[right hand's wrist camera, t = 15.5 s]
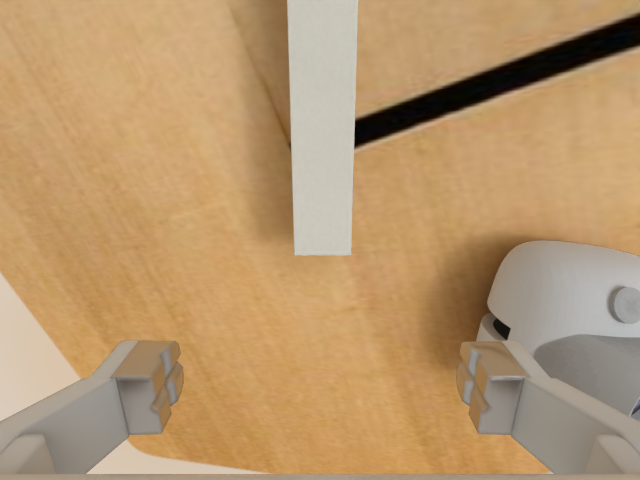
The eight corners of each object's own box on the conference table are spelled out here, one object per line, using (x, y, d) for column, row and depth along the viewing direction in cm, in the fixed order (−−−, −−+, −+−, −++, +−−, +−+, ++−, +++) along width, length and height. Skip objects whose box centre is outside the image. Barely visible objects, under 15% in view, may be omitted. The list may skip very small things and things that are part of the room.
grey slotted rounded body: (527, 421, 45) (619, 561, 31) (414, 297, 39) (466, 402, 25) (707, 316, 40) (911, 428, 26) (608, 155, 34) (804, 190, 20)
